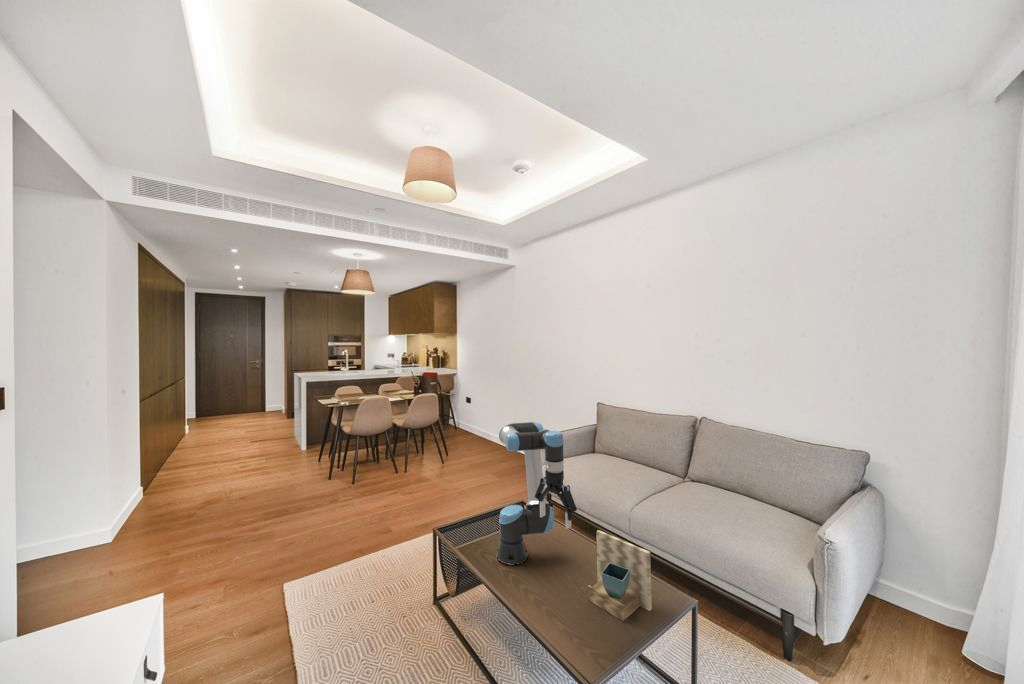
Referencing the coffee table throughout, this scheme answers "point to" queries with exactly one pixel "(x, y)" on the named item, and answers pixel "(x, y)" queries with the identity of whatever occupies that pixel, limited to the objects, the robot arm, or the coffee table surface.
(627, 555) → the board
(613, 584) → the flower pot
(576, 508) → the robot arm
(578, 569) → the coffee table surface
